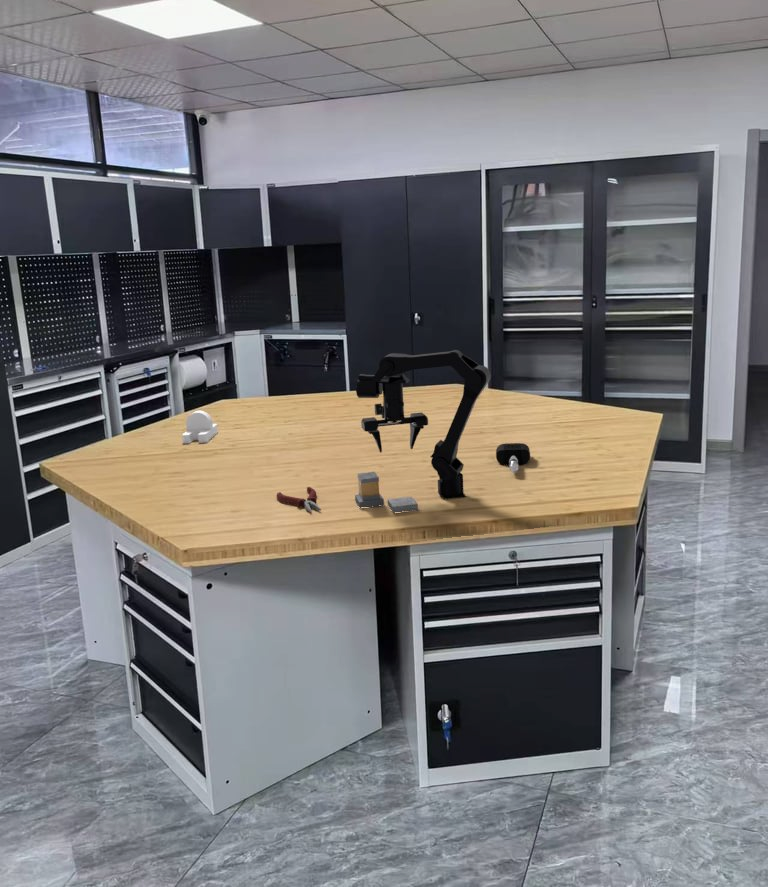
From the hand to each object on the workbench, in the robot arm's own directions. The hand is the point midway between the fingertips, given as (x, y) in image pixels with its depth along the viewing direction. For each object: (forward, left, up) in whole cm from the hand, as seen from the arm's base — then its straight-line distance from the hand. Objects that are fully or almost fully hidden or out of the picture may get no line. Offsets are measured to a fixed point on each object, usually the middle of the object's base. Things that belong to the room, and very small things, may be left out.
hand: (396, 450), depth 241 cm
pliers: (+29, -1, -14) cm, 33 cm away
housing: (+10, +7, -11) cm, 16 cm away
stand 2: (+2, +14, -13) cm, 19 cm away
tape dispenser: (+58, -100, -14) cm, 116 cm away
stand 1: (+10, +7, -13) cm, 18 cm away
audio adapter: (-41, -13, -13) cm, 45 cm away
